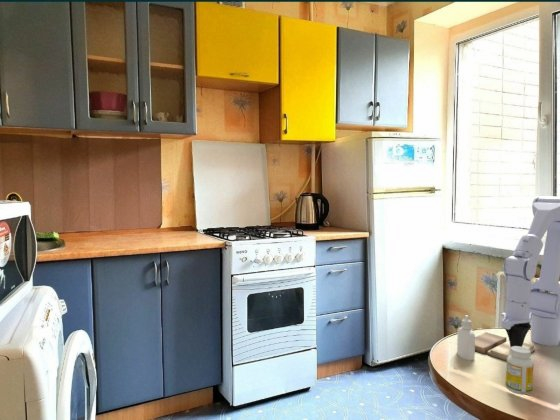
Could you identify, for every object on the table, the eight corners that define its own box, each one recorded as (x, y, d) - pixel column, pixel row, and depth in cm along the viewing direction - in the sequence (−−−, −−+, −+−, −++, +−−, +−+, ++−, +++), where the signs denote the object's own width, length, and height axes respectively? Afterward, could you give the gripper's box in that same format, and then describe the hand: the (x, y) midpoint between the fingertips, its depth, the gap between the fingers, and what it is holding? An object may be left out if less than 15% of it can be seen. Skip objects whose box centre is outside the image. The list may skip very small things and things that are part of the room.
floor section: (484, 338, 129) (484, 331, 129) (535, 353, 118) (536, 345, 118) (461, 349, 121) (461, 341, 121) (513, 366, 110) (514, 357, 109)
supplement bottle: (510, 394, 95) (511, 352, 95) (502, 383, 100) (503, 344, 100) (536, 396, 94) (538, 354, 94) (526, 385, 99) (528, 345, 99)
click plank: (508, 343, 123) (508, 338, 123) (533, 350, 118) (534, 345, 118) (487, 354, 115) (487, 348, 115) (513, 362, 110) (513, 357, 110)
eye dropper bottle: (474, 356, 116) (475, 313, 115) (474, 364, 111) (475, 319, 110) (457, 353, 118) (458, 311, 117) (456, 361, 113) (457, 317, 112)
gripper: (514, 293, 122) (512, 339, 123) (490, 301, 113) (488, 350, 114) (541, 298, 117) (538, 346, 117) (518, 307, 108) (516, 359, 108)
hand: (515, 349), depth 115 cm, fingers closed, pressing on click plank
